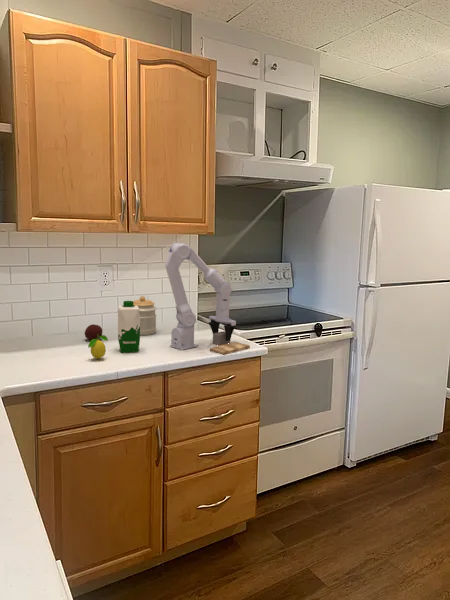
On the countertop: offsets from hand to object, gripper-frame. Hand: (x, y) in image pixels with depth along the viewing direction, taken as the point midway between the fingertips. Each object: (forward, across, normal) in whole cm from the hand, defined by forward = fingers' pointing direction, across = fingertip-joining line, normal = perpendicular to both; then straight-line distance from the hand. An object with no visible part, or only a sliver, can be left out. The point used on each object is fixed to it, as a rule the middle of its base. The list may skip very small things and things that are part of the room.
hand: (221, 338), depth 207 cm
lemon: (+2, +14, +53) cm, 55 cm away
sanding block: (+2, 0, 0) cm, 2 cm away
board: (+2, -9, +4) cm, 10 cm away
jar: (+2, +39, +14) cm, 42 cm away
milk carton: (+2, +17, +37) cm, 41 cm away
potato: (+2, +41, +39) cm, 57 cm away
